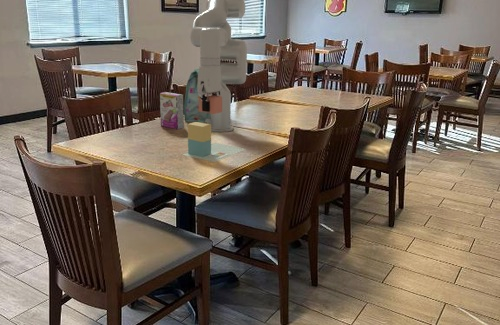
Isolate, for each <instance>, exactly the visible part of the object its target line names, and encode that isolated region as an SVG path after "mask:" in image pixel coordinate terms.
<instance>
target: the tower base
mask: <svg viewBox="0 0 500 325" xmlns="http://www.w3.org/2000/svg"><path fill="white" fill-rule="evenodd" d="M211 144H212V131H211V124H209V123H207V124H206V123H200V122H196V121H193V122H189V123H188V124H187V151H188V152H187V153H188V154H192V155H196V156H201V157H205V156H208V155H210V154H211Z"/></svg>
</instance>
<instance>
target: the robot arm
mask: <svg viewBox="0 0 500 325" xmlns="http://www.w3.org/2000/svg"><path fill="white" fill-rule="evenodd" d="M205 4H206V5H205V6H206V11H204V12H202V13H201V14H199V15H198V16H197V17H196V18H195V19H194V20H193V22H192V26H191V29H190V34H189V35H190V36H189V38H190V43H191V45H192V46H194V47H196V48H200V49H199V51H200V53H199V57H200V59H199V60H200V62H199V66H198V69H199V72H198V84H197V90H198V95H199V96H200V98H201V101H202V111H206V112H209V111H210V101H209V95H210V93H211V95H214V96H221V97H222V112H220V113H216V114H212V113H211V119H206V120H205V123H207V124H211V132H213V133H214V132H215V133H227V132H231V131H232V132H233V131H234V126H233V125H232V124H231V109H232V107H231V105H232V103H231V100H232V99H231V98H232V96H231V95H232V94H231V91H230V89H229V88H228V87H227V85H228V84H229V85H242V84H243V85H244V83H245V82H246V81H247V65H248V64H247V61H248V59H247V58H248V48H247V43H246V41H245V40H243V39H240V38H239V39H238V38H232V27H231V25H230V24H229V22H228V21H227V19H240V18H241V19H242V18H243V17H244V16H245V13H246V2H245V0H207V1H206V3H205ZM221 61H235V62H221ZM225 84H226V85H225ZM205 92H206V93H205ZM205 94H206V96H205Z"/></svg>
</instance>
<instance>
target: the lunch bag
mask: <svg viewBox="0 0 500 325" xmlns="http://www.w3.org/2000/svg"><path fill="white" fill-rule="evenodd" d="M198 72H199V68H196V69H194V70H193V71H192V72H190V75H189V77H188V80H187V83H186V86H185V87H186V88H185V97H184V103H183V109H184V122H187V123H188V122H189V123H193V122H200V123H205V120H206V119H211V113H205V112H199V95H198V90H197V84H198ZM225 85H226V86H227V84H225ZM205 93H206V92H205ZM205 95H206V94H205ZM210 95H211V93H210ZM206 124H208V123H206Z"/></svg>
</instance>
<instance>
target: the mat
mask: <svg viewBox="0 0 500 325" xmlns="http://www.w3.org/2000/svg"><path fill="white" fill-rule="evenodd" d="M245 150H247V148H243V147H239V146H233V145H228V144H223V143H218V142H213V143H211V154H212V153H215V152H221V153H225V154H229V155H228V156H225V157H223V158H216V157H211V156H205V157H201V156H196V155H192V154H188V152H186V153H183V154H181V156H186V157H188V158H189V157H190V158H195V159H197V160H198V159H199V160H203V161H208V162H211V163H217V162H219V161H221V160H223V159H226V158H228V157H231V156H233V155H236V154H238V153H241V152H242V151H243V152H244V151H245Z"/></svg>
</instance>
